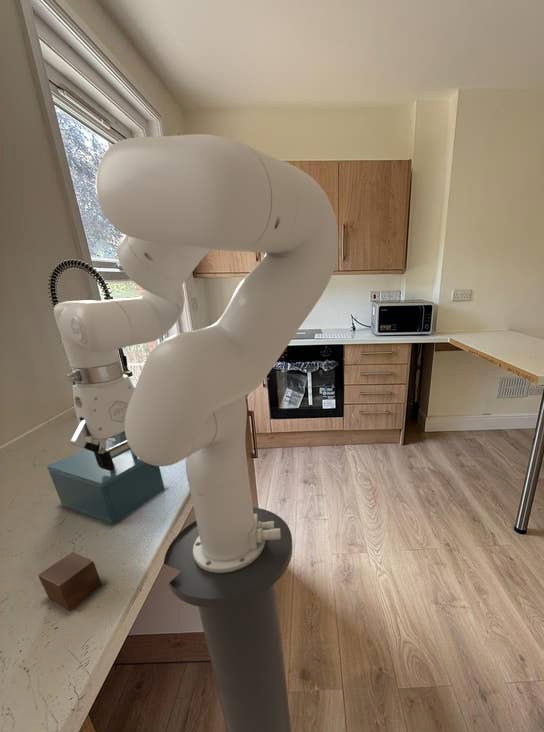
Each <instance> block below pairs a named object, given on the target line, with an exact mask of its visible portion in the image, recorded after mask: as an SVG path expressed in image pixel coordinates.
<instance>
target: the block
mask: <svg viewBox="0 0 544 732" xmlns="http://www.w3.org/2000/svg"><path fill="white" fill-rule="evenodd" d="M37 576H38V578H39V581H40V582H41V585H42V587H43V589H44V592H45V593H46V595H47V598H48V600H49V601H51V602H53V603H54V604H56V605H58V606H60V607H61V608H64V609H65V610H67V611H69V612H71V611H72V610H74V609H75V608H76V607H77V606H78V605H80V604H82V602H83V601H85V600H86V599H87V598H88V597H90V596H91V595H92V594H93V593H95V592H96V591H97V590H98V589H99V588H100V587H102V586H103V584H102V580H101V578H100V575H99V571H98V569H97V566H96V564H95V561H94V560H92V559H90V558H88V557H86V556H83V555H81V554H79V553H77V552H75V551H71V552H70V553H68V554H67V555H65V556H64V557H62V558H61V559H60V560H58V561H56V562H55V563H53V564H52V565H51V566H49V567H48V568H46V569H44V570H43V571H42V572H41V573H39V574H38V575H37Z"/></svg>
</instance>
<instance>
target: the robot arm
mask: <svg viewBox="0 0 544 732" xmlns="http://www.w3.org/2000/svg"><path fill="white" fill-rule="evenodd" d="M95 174H96V175H95V192H96V198H97V201H98V204H99V205H98V206H99V207H100V209H101V211H102V214H103V215H104V217H105V218H106V220H107V221H108V223H109V224H110V225H111V226H112V227H113V228H114V229H115V230H116V231H118V232H120V233H121V234H122V235H124V236H123V238H122V239H121V241H120V243H119V245H118V248H117V259H118V263H119V264H120V267H121V268H122V271H124V273H125V274H126V276H128V278H129V279H130V280H131V281H132V282H133V283H134V284H136V285H137V286H138V287H140V288H142V289H143V290H145V291H144V293H143V294H141V295H140V296H139V297H127V298H115V299H106V300H93V299H92V300H90V299H88V300H87V299H86V300H84V299H83V300H70V301H69V300H68V301H63V302H59V303H55V305H54V307H53V315H54V319H55V323H56V325H57V329H58V332H59V335H60V338H61V342H62V345H63V348H64V351H65V354H66V357H67V361H68V364H69V366H70V367H69V371H70V372H69V373H67V374H65V380H66V381H67V382H68V383H71V382H73V383H75V384H73V385H72V399H73V405H74V410H75V415H76V419H77V423H78V426H77V428H76V430H75V431H74V434H73V435H72V437H71V439H70V441H69V443H70V444H71V445H73V446H76V447H77V448H78V447H79V448H82V449H83V450H84V449H87V450H90V451H93V452H94V454H95V457H96V460H97V463H98V466H99V467H100V468H102V469H105V470H109V471H112V470H114V465H113V462H112V459H111V455H110V452H109V451H106V442H107V440H109V439H110V438H113V437H115V435H117V434H120V433H122V432H124V431H125V435H126V439H127V442H128V444H129V447H130V448H131V450H132V451H133V453H134V454H135V455H136V456H137V457H138V458H139V459H140V460H142V461H143V462H145V463H147V464H150V465H154V466H159V467H169V466H172V465H174V464H177V463H179V462H181V461H183V460H184V459H185V470H186V477H187V482H188V487H189V492H190V497H191V501H192V507H193V511H194V516H195V521H197V526H198V531H199V537H198V538H197V539H196V541H195V543H194V546H193V556H194V560H195V561H196V563H197V564H198V566H199V567H201V568H202V569H204V570H206V571H209V572H214V573H226V572H232V571H235V570H238V569H241V568H243V567H245V566H247V565H248V564H250V563H252V562H253V561H254V560H255V559H256V558H257V557H258V556H259V555H260V554H261V552H262V550H263V548H264V545H265V540H280V539H281V533H280V528H276V529H274V521H270V522H262V523H261V521H258V517H257V514H253V507H254V506H253V499H252V493H251V484H250V476H249V465H248V457H247V448H246V434H247V433H246V432H247V431H246V430H247V421H248V420H247V419H248V407H247V405H248V404H247V399H246V397H245V396H247V395H249V394H250V393H252V392H254V391H256V389H258V388H259V387H260V386H261V385H262V384H263V383H264V381H265V380H266V378H267V376H268V375H269V374H270V372H271V371H272V369H273V367H274V366H275V365H276V363H277V362H278V360H279V359H280V358H281V356H282V355H283V353H284V352H285V350H286V349H287V347H288V346H289V344H290V343H291V342H292V340H293V338H294V336H296V333H297V332H298V330H299V329H300V328H301V326H302V325H303V323H304V322H305V321H306V319H307V318H308V316H309V315H310V313H311V312H312V310H314V308H315V306H316V305H317V303H318V302H319V300H321V298H322V296H323V294H324V292H325V291H326V289H327V286H328V285H329V283H330V281H331V279H332V276H333V274H334V271H335V267H336V264H337V259H338V253H339V229H338V223H337V222H338V221H337V218H336V214H335V211H334V208H333V206H332V203H331V201H330V199H329V197H328V195H327V194H326V192H325V191H324V189H323V188H322V187H321V185H320V184H319V183H318V181H316V180H315V179H314V178H313V177H312V176H311V175H309V174H308V173H307V172H305V171H303V170H302V169H301V168H298V167H297V166H295V165H293V164H291V163H289V162H287V161H284V160H282V159H280V158H277V157H274V156H272V155H270V154H267V153H265V152H263V151H261V150H258V149H256V148H254V147H252V146H250V145H248V144H245V143H243V142H240V141H237V140H235V139H233V138H230V137H226V136H221V135H217V134H209V133H208V134H207V133H198V134H195V133H193V134H178V135H164V136H163V135H161V136H160V135H159V136H140V137H139V136H138V137H137V136H136V137H129V138H124V139H121V140H119V141H117V142H115V143H114V144H112V145H111V146H109V148H108V149H107V150H106V151H105V152H104V154H103V155H102V157H101V158H100V161H99V164H98V166H97V170H96V173H95ZM211 250H215V251H224V252H225V251H226V252H243V253H262V254H263V253H264V254H263V255H264V256H263V257H262V259H261V260H260V262H259V263H258V264H257V265H256V266H255V267H254V268H253V269H252V270H251V271H250V272H248V274H247V275H246V276H245V277H244V278H243V279H242V281H241V282H240V283H239V284H238V286H237V287H236V289H235V291H234V293H233V295H232V297H231V299H230V301H229V303H228V305H227V306H226V308H225V309H224V312H223V313H222V315H221V316H220V318H219V319H218V320H217V321H216V322H215V323H213V324H211V325H209V326H206V327H203V328H199V329H193V330H189V331H184V332H181V333H176V334H173V335H171V336H168V337H167V338H165V339H163V340H162V341H160V342H159V343H158V344H156V345H155V347H154V348H153V349H152V350H151V351H150V352H149V354H148V355H147V358H146V359H145V362H144V364H143V367H142V368H141V372H140V374H139V376H138V380H137V382H136V384H135V386H134V384H133V382H132V381H131V378H130V377H129V375H128V374H124V371H123V367H122V365H121V364H122V363H121V360H120V355H119V352H118V350H121V349H124V348H128V347H132V346H137V345H142V344H147V343H148V344H149V343H151V342H155V341H157V340H159V339H161V338H162V337H164V336H165V335H167V334H168V332H170V330H172V328H173V327H174V326H175V325H176V323H177V322H178V321H179V319H180V318H181V317H182V315H183V312H184V307H185V291H184V287H183V285H184V283H185V282H186V281H187V279H188V278H189V277H190V276H191V274H192V273H193V271H194V270H195V269H196V268H197V267H198V265H199V264H200V263H201V262H202V260H203V259H204V258H205V257H206V255H207V254H208V253H209V251H211ZM134 388H135V389H134ZM86 437H87V438H88V437H90V440H89V441H86V440H85V439H86ZM263 529H270V530H263Z"/></svg>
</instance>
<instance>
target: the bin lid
mask: <svg viewBox="0 0 544 732" xmlns="http://www.w3.org/2000/svg"><path fill="white" fill-rule="evenodd" d="M106 451H109V452H110V455H111V459H112V462H113V465H114V470H112V471H109V470H105V469H102V468H100V467H99V466H98V463H97V460H96V457H95V454H94V452H93V451H90V450H87V449H84V448H83V449H82V450H79V451H77V452H74V453H73V454H70V455H68V456H66V457H64V458H62V459H59V460H57V461H55V462H53V463H51V464H48V465H46V467H47V470H48V471H49V470H52V471H55V472H58V473H61V474H64V475H67V476H70V477H73V478H76V479H79V480H83V481H86V482H89V483H92V484H95V485H98V486H101V487H104V486H106V485H108V484H110V483H111V482H113V481H115V480H117V479H118V478H120V477H122V476H124V475H125V474H127V473H129V472H131V471H132V470H134V469H136V468H138V467H140V466H141V465H143V464H145V462H143V461H142V460H140V459H139V458H138V457H137V456H136V455H135V454H134V453H133V451H132V450H131V448H130V447H129V444H128V442H127V440H126V441H124V442H122V443H119V442H115V440H110V439H107V442H106Z"/></svg>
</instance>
